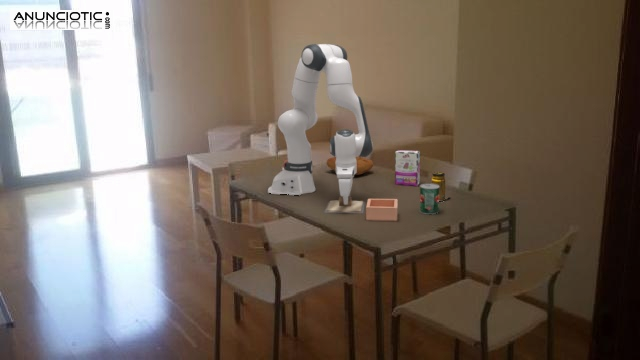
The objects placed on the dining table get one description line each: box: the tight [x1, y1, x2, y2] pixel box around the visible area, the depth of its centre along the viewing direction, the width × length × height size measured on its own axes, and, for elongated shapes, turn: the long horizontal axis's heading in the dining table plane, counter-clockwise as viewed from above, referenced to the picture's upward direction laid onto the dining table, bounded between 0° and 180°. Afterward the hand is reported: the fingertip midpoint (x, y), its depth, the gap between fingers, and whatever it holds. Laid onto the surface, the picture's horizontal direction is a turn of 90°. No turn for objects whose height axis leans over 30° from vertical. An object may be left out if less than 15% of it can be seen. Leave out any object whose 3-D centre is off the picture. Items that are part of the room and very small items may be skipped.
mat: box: [324, 200, 366, 214], centre depth 255 cm, size 16×16×1 cm
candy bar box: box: [394, 149, 421, 187], centre depth 289 cm, size 11×5×16 cm, turn 68°
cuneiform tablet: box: [326, 156, 374, 176], centre depth 315 cm, size 22×17×8 cm
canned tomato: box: [419, 183, 440, 215], centre depth 247 cm, size 8×8×11 cm
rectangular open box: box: [365, 198, 399, 222], centre depth 242 cm, size 12×12×6 cm
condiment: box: [430, 171, 446, 201], centre depth 264 cm, size 7×8×12 cm
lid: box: [327, 196, 364, 212], centre depth 255 cm, size 14×14×4 cm
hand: (346, 200), depth 255 cm, fingers open, 8 cm apart
